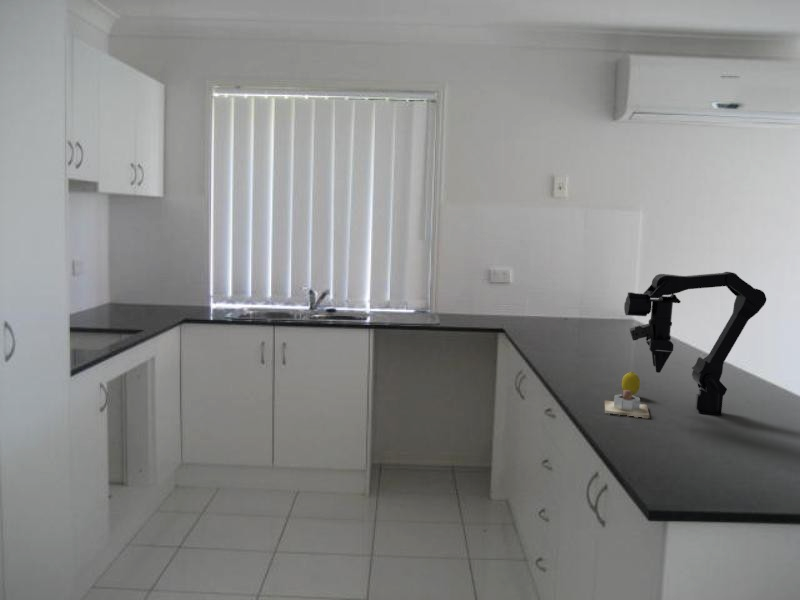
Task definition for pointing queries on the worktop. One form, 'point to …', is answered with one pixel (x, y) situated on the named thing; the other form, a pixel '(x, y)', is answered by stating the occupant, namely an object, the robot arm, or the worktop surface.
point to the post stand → (639, 413)
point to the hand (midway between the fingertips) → (656, 369)
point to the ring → (626, 403)
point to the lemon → (631, 382)
